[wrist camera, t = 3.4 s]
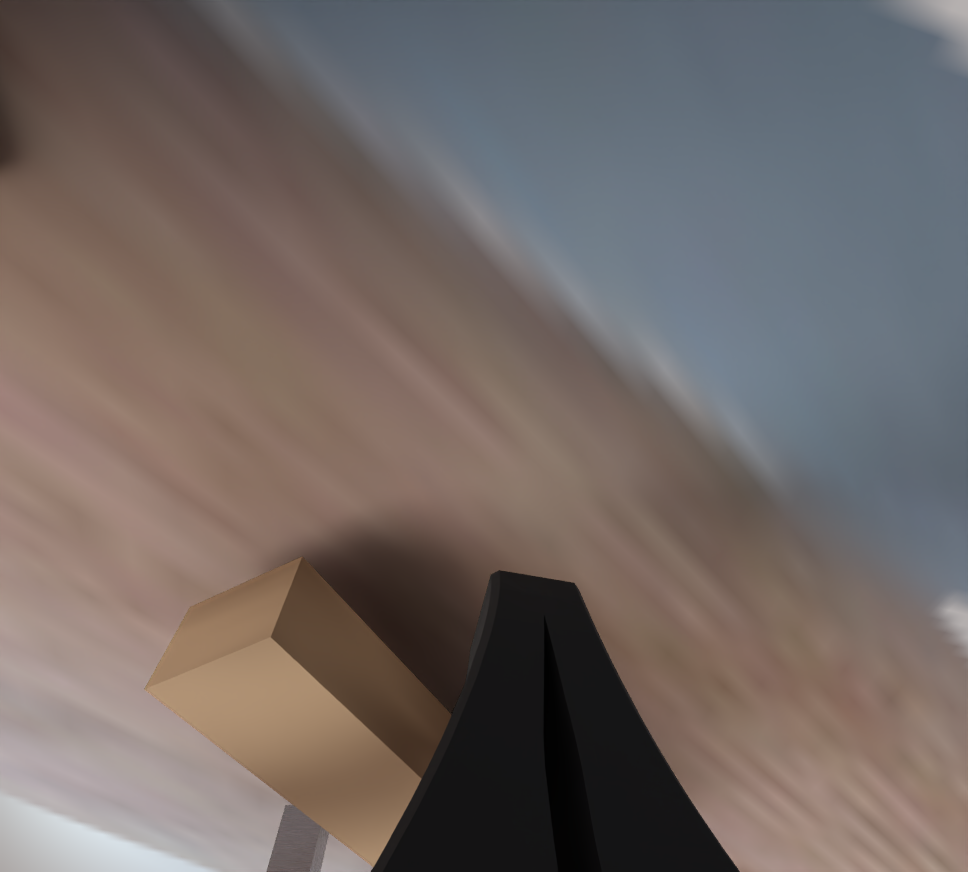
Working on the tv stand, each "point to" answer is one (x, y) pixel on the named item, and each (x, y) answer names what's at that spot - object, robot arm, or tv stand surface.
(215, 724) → the link
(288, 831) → the block
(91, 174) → the tv stand surface
